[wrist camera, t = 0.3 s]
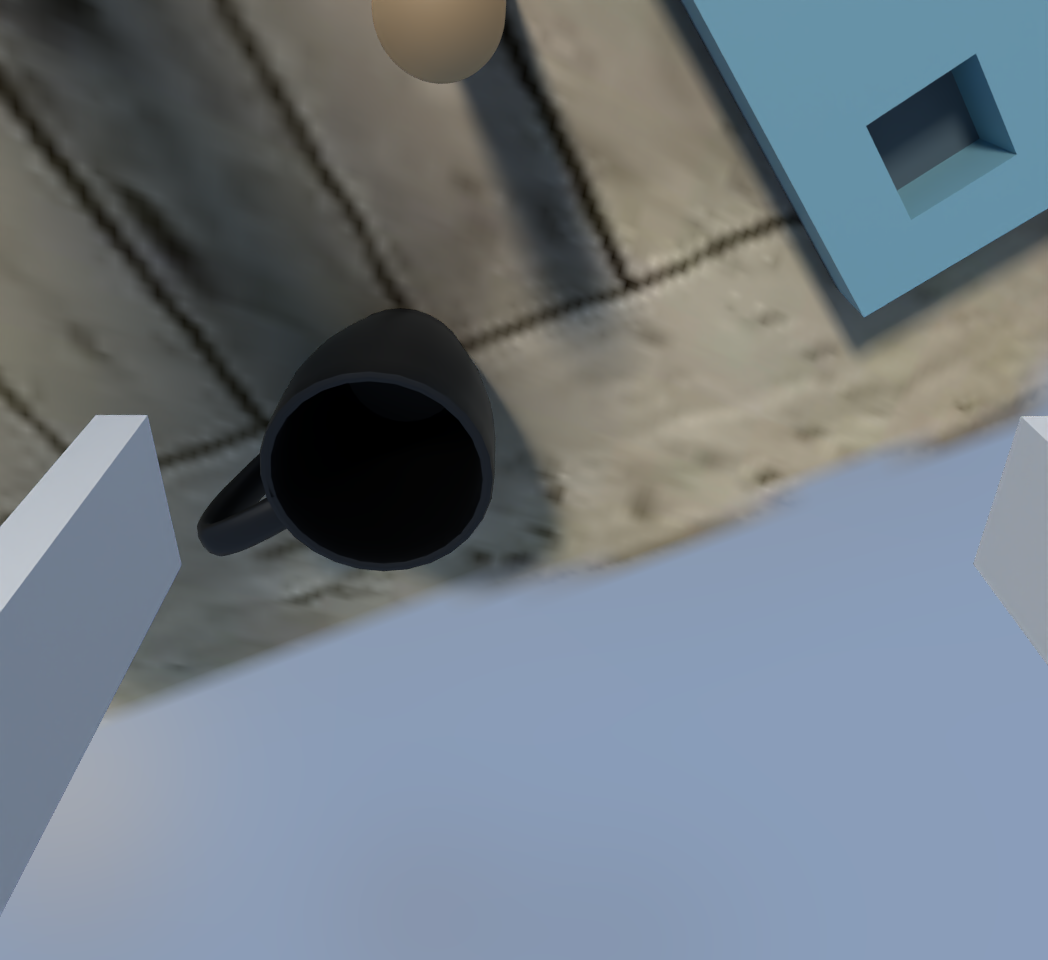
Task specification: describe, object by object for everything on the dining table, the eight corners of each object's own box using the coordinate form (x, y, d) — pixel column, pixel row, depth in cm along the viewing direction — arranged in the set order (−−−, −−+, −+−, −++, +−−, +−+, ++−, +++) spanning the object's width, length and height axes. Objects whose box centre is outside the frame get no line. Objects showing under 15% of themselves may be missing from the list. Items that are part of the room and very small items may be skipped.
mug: (199, 359, 40) (119, 468, 32) (444, 245, 37) (426, 332, 29) (299, 503, 44) (250, 634, 36) (527, 408, 41) (532, 525, 33)
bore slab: (607, -134, 31) (617, -141, 28) (883, -359, 28) (928, -394, 25) (836, 287, 39) (863, 317, 35) (1071, 144, 36) (1122, 163, 33)
